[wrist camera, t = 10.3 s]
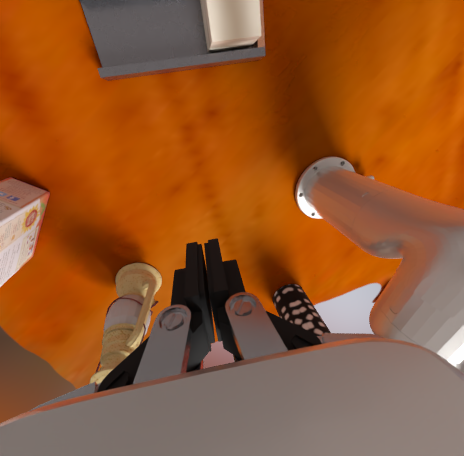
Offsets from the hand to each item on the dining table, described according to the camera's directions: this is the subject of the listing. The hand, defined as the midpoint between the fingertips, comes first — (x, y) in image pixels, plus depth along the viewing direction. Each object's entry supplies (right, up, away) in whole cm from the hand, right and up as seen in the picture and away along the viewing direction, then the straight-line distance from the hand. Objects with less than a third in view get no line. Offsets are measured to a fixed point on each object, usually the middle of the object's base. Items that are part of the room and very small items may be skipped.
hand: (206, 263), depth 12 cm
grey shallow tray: (-6, +29, +19) cm, 35 cm away
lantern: (-18, -9, +36) cm, 42 cm away
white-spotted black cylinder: (+16, -16, +47) cm, 52 cm away
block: (0, +30, +19) cm, 36 cm away
